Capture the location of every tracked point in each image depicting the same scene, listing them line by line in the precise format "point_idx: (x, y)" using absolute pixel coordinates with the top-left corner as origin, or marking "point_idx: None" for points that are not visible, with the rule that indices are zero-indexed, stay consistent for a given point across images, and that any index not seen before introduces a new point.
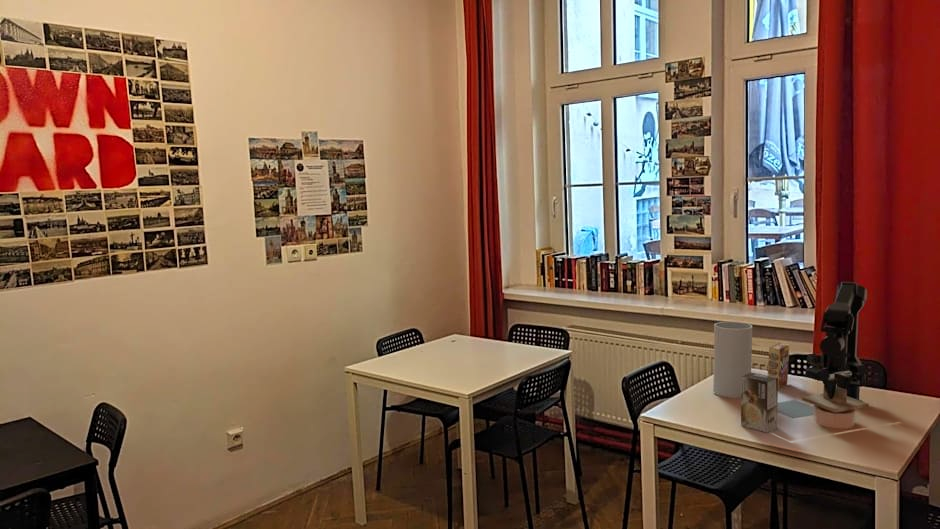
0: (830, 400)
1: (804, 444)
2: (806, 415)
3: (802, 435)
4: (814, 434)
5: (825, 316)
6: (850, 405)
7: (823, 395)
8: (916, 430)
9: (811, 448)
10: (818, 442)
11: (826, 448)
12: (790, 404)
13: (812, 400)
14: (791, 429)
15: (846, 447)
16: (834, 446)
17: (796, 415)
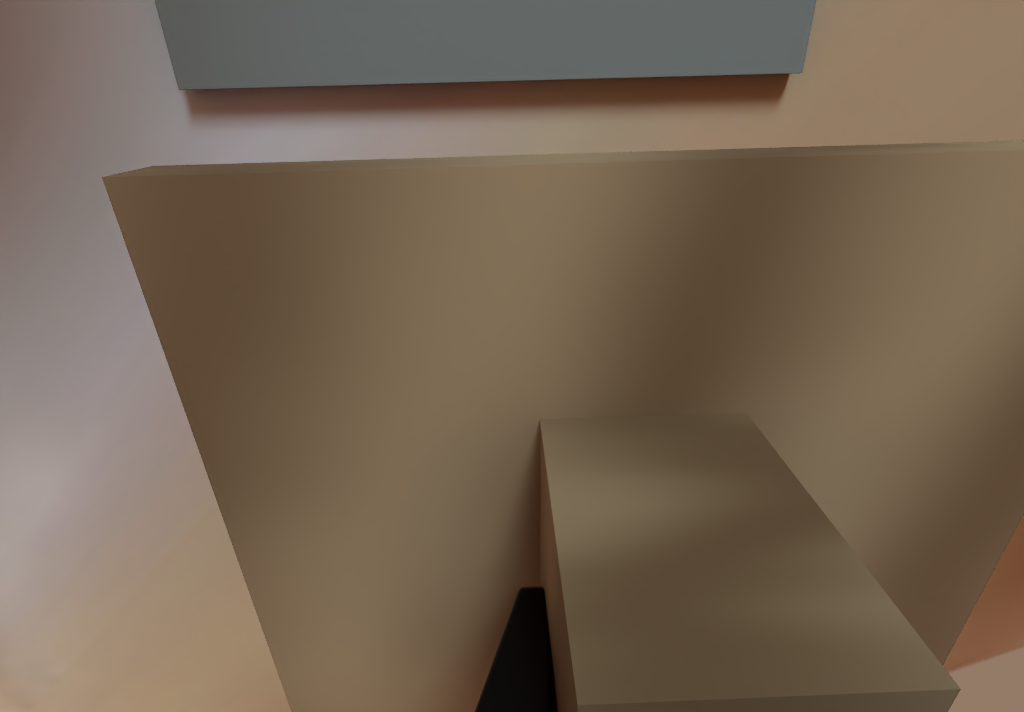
0: (539, 565)
1: (7, 616)
2: (439, 64)
3: (75, 493)
4: (198, 505)
5: None
6: None
7: (547, 455)
8: (977, 643)
9: (31, 669)
10: (139, 617)
11: (140, 689)
12: None
13: (217, 461)
14: (29, 351)
15: (285, 706)
16: (215, 682)
17: (297, 4)
